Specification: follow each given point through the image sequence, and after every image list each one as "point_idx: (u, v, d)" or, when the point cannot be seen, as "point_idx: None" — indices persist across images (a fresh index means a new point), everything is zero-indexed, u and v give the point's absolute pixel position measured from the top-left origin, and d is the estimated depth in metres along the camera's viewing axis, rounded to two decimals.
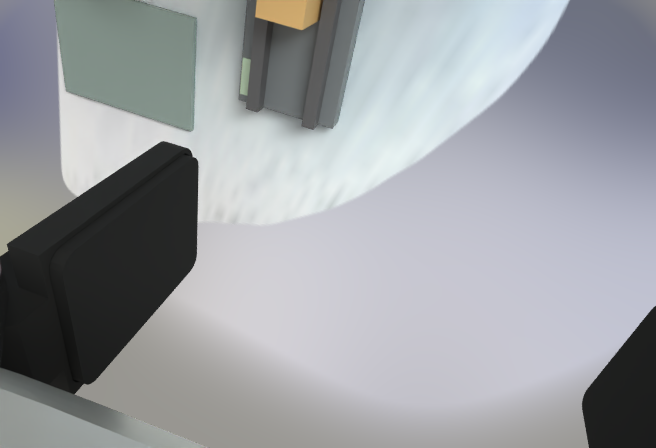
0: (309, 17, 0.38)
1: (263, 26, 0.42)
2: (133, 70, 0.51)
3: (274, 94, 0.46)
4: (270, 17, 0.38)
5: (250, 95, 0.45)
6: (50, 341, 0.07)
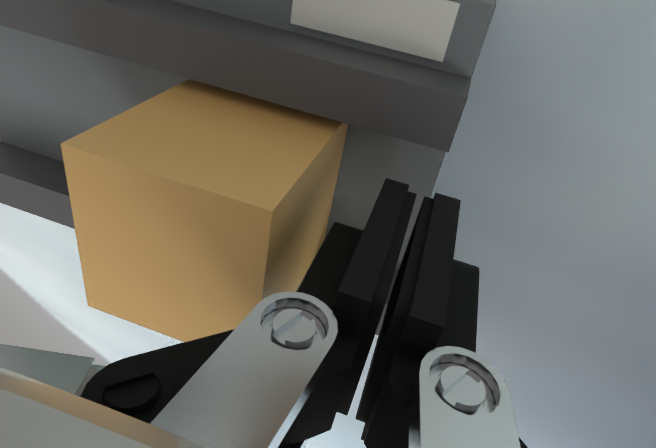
0: None
1: (191, 65, 0.11)
2: None
3: (19, 42, 0.14)
4: (83, 208, 0.09)
5: None
6: (346, 378, 0.08)
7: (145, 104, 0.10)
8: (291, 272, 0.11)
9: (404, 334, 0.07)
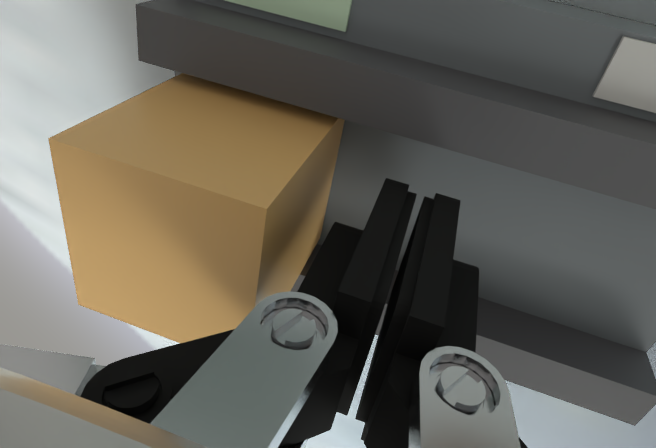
0: None
1: (490, 146, 0.10)
2: None
3: None
4: (73, 205, 0.09)
5: (197, 36, 0.10)
6: (347, 378, 0.08)
7: (137, 98, 0.10)
8: (286, 271, 0.11)
9: (404, 334, 0.07)
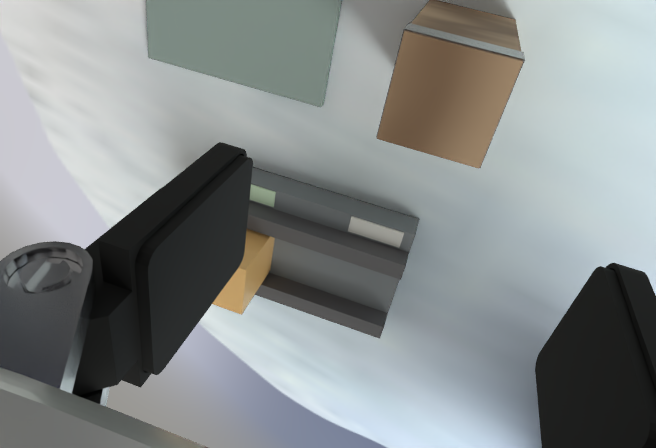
0: None
1: (314, 247, 0.32)
2: None
3: None
4: None
5: None
6: (130, 332, 0.08)
7: None
8: (254, 284, 0.33)
9: None
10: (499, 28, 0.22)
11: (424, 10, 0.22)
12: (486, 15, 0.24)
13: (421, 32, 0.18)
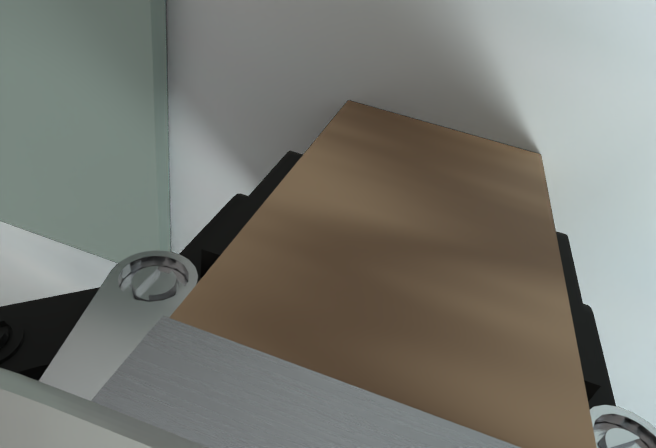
0: None
1: None
2: None
3: None
4: None
5: None
6: None
7: None
8: None
9: None
10: (505, 226, 0.08)
11: (299, 170, 0.08)
12: (472, 151, 0.10)
13: (160, 427, 0.04)
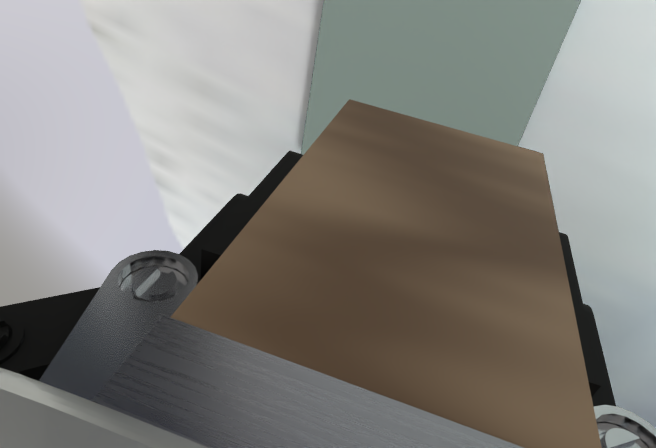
0: None
1: None
2: (404, 67, 0.25)
3: None
4: None
5: None
6: None
7: None
8: None
9: None
10: (508, 226, 0.08)
11: (300, 169, 0.08)
12: (474, 151, 0.10)
13: (162, 428, 0.04)
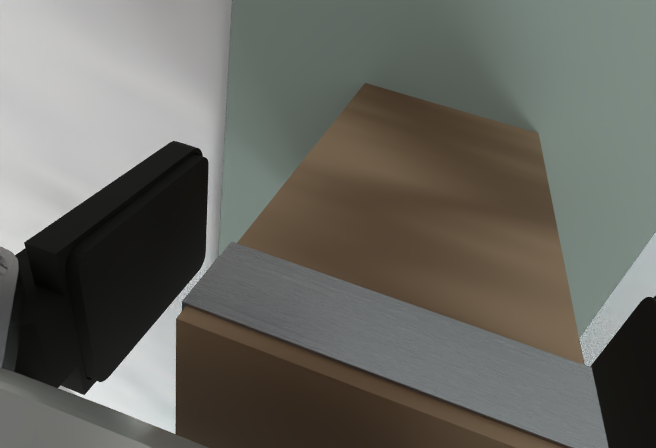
0: None
1: None
2: None
3: None
4: None
5: None
6: (65, 338, 0.07)
7: None
8: None
9: None
10: (507, 189, 0.09)
11: (328, 138, 0.09)
12: (478, 129, 0.11)
13: (242, 315, 0.05)
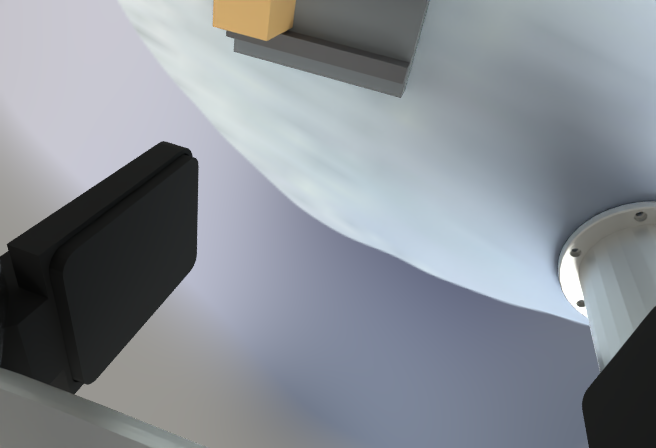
0: None
1: None
2: None
3: None
4: None
5: None
6: (50, 341, 0.07)
7: None
8: (278, 17, 0.33)
9: None
10: None
11: None
12: None
13: None
